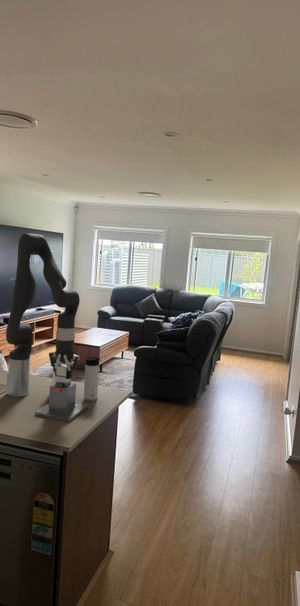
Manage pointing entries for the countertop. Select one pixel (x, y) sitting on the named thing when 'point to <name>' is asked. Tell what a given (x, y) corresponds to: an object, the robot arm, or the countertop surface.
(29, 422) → the countertop surface
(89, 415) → the countertop surface
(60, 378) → the block
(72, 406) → the stepped pedestal base
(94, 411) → the countertop surface
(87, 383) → the travel mug
